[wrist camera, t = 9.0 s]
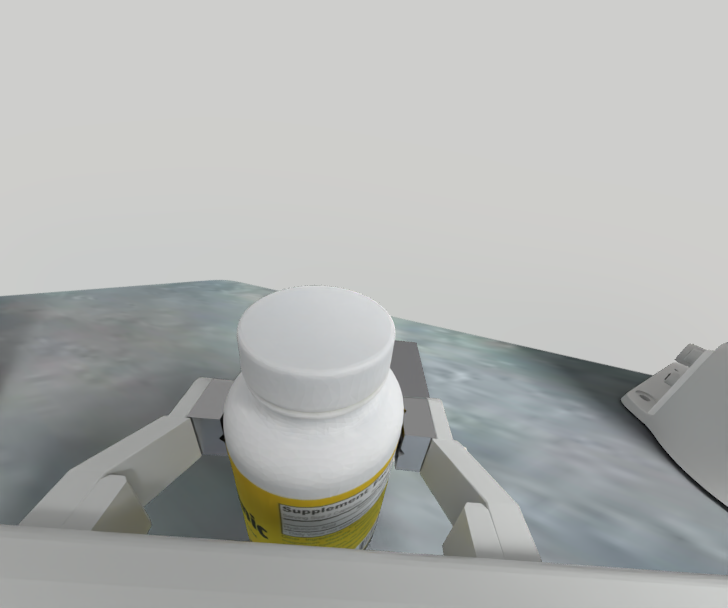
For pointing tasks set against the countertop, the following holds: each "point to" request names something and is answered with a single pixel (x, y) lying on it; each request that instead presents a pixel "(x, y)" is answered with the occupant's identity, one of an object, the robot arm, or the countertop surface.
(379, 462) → the supplement bottle
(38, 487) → the countertop surface
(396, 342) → the mat
